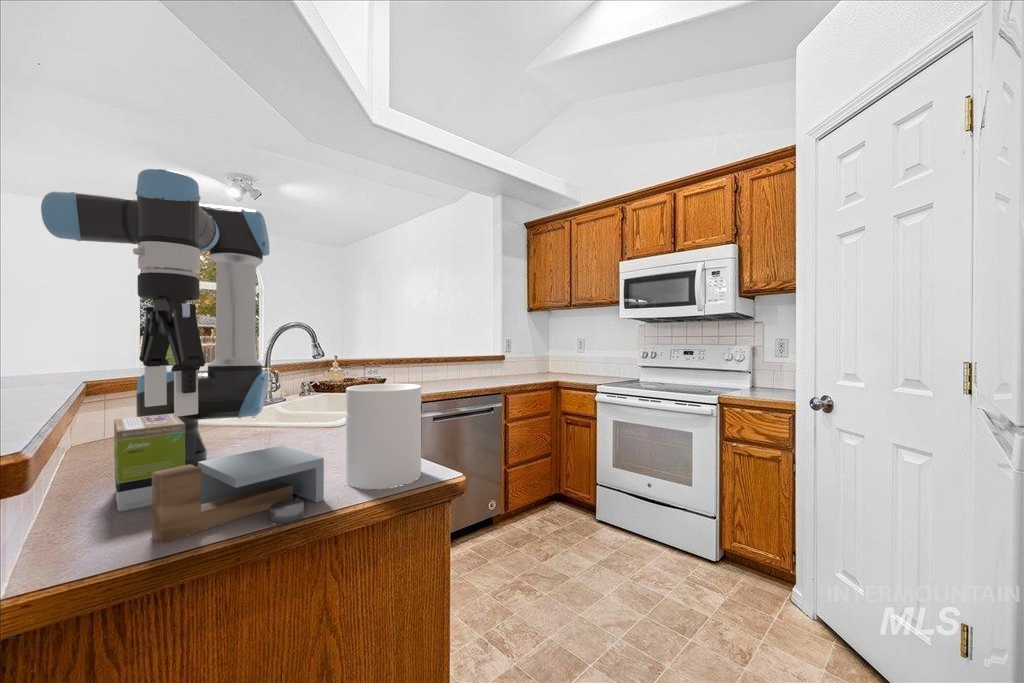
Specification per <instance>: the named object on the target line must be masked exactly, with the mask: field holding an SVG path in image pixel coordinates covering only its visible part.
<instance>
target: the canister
mask: <svg viewBox="0 0 1024 683" xmlns="http://www.w3.org/2000/svg"><path fill="white" fill-rule="evenodd" d="M345 408H346V414H345V483H346V484H347V486H349V487H352V488H354V487H356V488H355V489H359V488H361V489H360V490H371V489H377V490H383V489H382V488H389V489H392V488H391V487H395V486H400V485H404V484H407V483H410V482H412V481H414V480H416V479H417V478H419V477H420V476H421V477H422V385H420V384H415V383H396V382H395V383H369V384H360V385H352V386H347V387H346V388H345ZM421 477H420V478H421ZM420 478H419V479H420ZM404 486H405V485H404ZM395 488H396V487H395Z"/></svg>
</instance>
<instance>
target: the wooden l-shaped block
mask: <svg viewBox="0 0 1024 683" xmlns="http://www.w3.org/2000/svg"><path fill="white" fill-rule="evenodd" d="M293 494H294V493H293V485H290V484H287V483H284V482H280V483H277V484H273V485H270V486H266V487H262V488H259V489H255V490H252V491H248V492H244V493H241V494H237V495H234V496H230V497H227V498H223V499H219V500H216V501H212V502H209V503H205V504H201V468H199V467H198V466H197V465H196V466H194V465H191V464H189V465H184V466H180V467H175V468H170V469H165V470H160V471H155V472H152V505H151V538H152V539H153V540H155V539H156V540H155V541H157V542H158V541H159V542H158V543H160V542H161V543H164V544H166V542H167V543H170V542H173V541H175V540H178V539H182V538H185V537H188V536H187V535H189V536H191V535H190V534H192V535H194V534H193V533H195V534H197V533H196V532H198V533H200V532H199V531H201V530H202V531H204V530H203V529H205V530H207V529H206V528H208V529H210V527H211V528H214V527H217V525H218V526H221V525H224V524H226V523H228V522H229V523H230V522H232V521H235V520H238V519H243V518H245V517H247V516H252V515H254V513H255V514H258V513H261V512H263V510H264V511H266V509H267V510H270V509H269V508H270V507H271V505H272V504H274V503H276V502H279V501H282V500H288V499H294V498H293V497H294V496H293ZM260 511H261V512H260ZM257 512H258V513H257ZM213 526H214V527H213ZM202 531H201V532H202ZM172 540H173V541H172ZM169 541H170V542H169ZM161 543H160V544H161Z"/></svg>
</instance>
